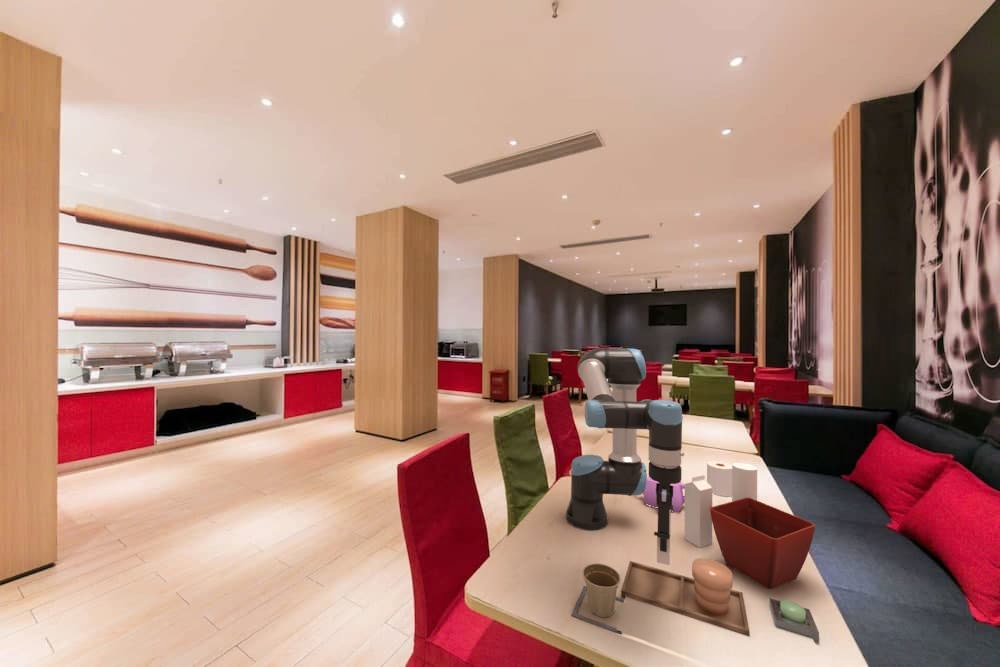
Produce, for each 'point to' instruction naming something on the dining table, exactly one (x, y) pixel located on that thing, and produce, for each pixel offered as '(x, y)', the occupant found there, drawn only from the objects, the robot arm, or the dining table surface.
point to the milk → (698, 512)
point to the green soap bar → (792, 611)
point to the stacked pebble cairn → (712, 585)
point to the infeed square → (574, 614)
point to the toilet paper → (720, 478)
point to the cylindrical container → (744, 481)
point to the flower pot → (601, 588)
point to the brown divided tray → (680, 596)
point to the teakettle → (651, 495)
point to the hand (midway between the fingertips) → (664, 547)
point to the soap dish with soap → (792, 626)
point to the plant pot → (762, 540)
